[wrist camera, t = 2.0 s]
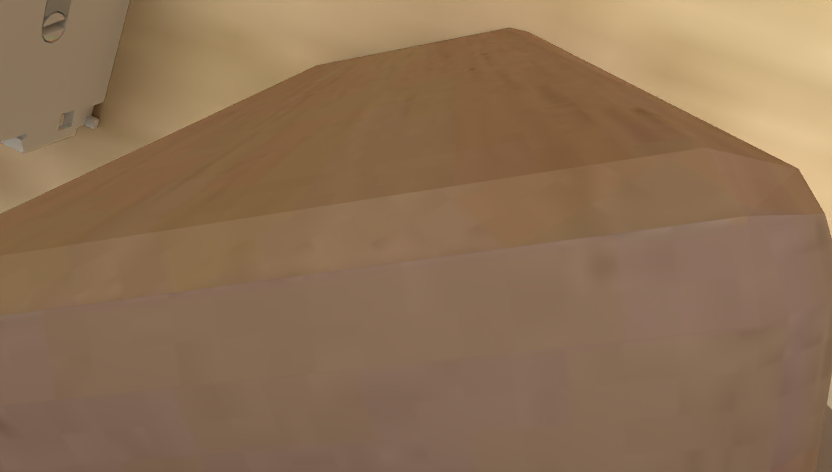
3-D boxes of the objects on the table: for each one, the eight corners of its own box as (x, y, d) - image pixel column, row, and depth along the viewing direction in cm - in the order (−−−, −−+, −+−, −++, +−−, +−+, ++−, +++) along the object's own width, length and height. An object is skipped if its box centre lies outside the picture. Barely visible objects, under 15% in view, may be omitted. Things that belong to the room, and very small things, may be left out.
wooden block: (551, 240, 25) (787, 869, 7) (354, 266, 27) (126, 841, 8) (531, 21, 21) (960, 165, 3) (300, 67, 23) (-346, 347, 4)
